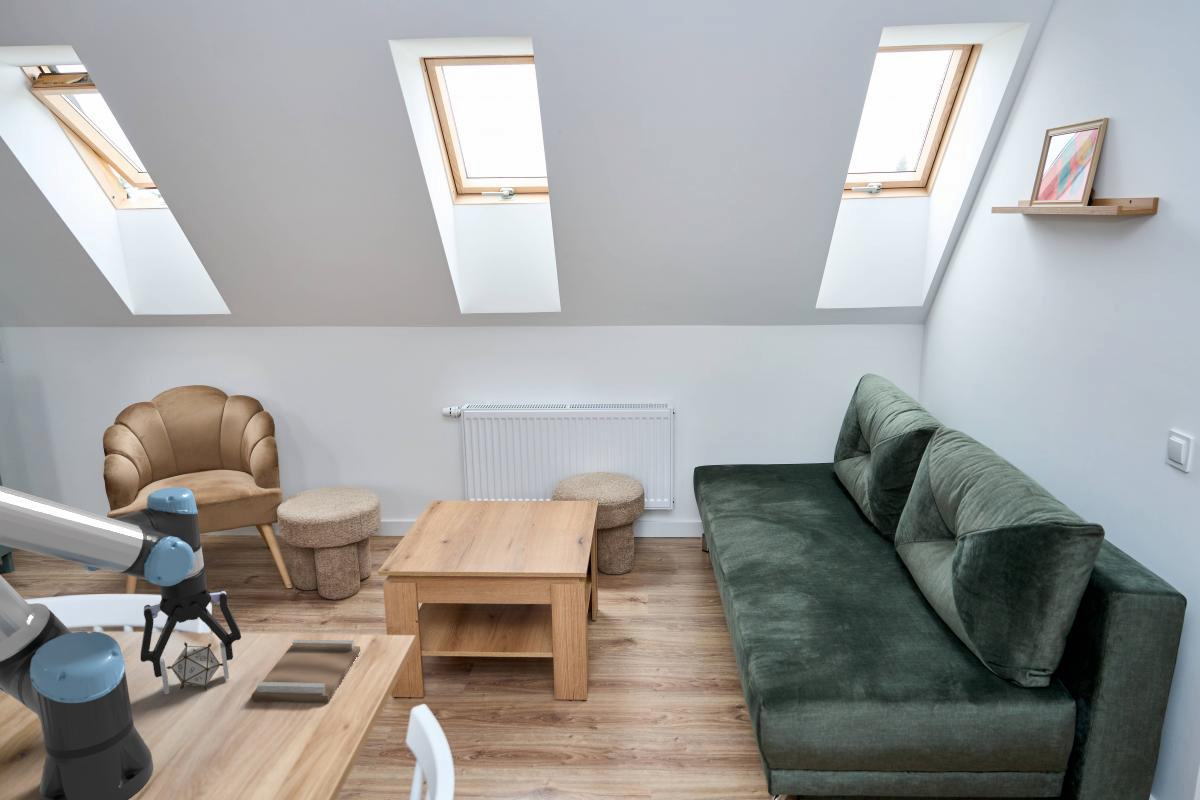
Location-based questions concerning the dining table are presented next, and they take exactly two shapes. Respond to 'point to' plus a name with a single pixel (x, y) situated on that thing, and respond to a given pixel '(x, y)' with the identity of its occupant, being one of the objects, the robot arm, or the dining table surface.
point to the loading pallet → (308, 672)
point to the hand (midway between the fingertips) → (197, 682)
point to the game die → (195, 666)
